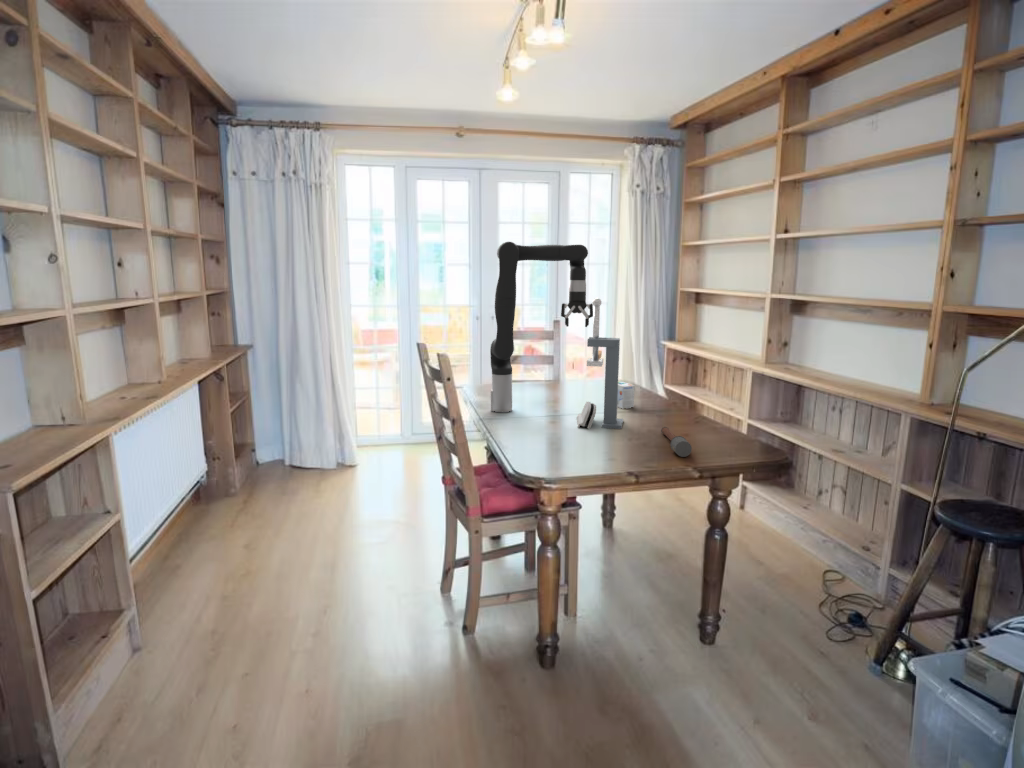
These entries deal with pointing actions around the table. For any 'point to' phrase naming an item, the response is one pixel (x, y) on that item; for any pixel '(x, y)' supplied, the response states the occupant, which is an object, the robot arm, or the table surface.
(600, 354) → the ram
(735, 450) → the table surface
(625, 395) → the light bulb box
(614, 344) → the press frame
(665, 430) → the mallet
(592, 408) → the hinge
